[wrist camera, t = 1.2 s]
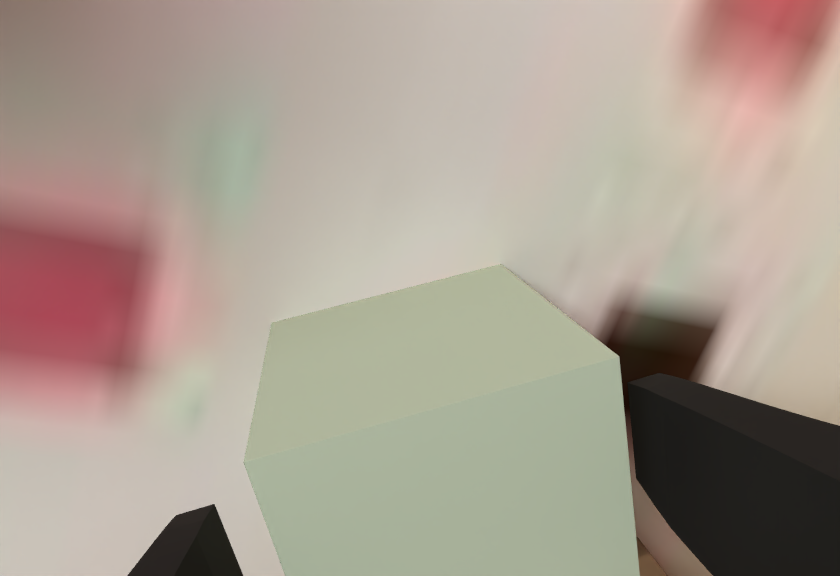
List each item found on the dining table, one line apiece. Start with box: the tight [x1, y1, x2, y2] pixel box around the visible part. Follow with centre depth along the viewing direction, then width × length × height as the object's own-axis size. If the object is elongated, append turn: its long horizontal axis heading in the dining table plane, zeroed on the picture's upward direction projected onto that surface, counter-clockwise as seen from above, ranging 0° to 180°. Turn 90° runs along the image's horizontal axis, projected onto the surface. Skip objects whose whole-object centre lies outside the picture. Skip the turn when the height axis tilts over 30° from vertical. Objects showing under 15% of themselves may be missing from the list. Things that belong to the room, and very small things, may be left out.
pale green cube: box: [244, 264, 640, 576], centre depth 10 cm, size 5×5×5 cm
